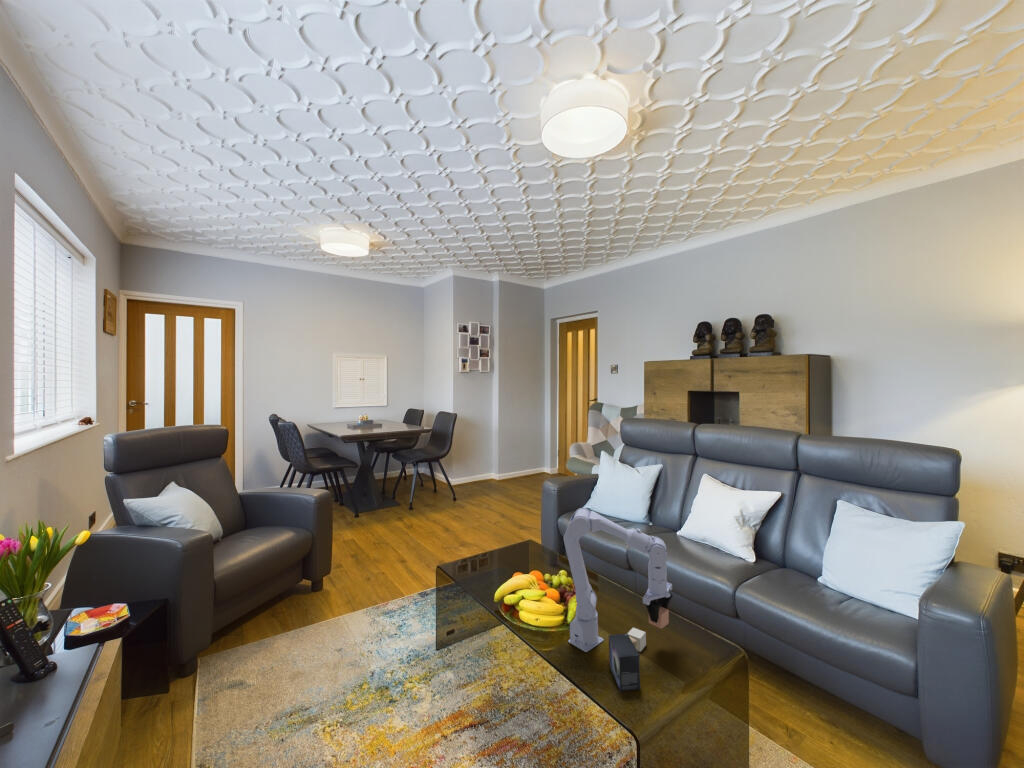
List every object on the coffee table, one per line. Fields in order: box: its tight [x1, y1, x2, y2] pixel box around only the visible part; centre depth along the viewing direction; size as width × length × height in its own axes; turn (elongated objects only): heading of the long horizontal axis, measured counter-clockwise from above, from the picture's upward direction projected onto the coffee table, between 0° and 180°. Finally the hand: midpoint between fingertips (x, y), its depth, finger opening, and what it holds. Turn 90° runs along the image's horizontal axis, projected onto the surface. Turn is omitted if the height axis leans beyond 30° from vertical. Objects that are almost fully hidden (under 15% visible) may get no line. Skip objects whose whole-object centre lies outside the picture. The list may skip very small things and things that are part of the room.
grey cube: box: [626, 627, 647, 653], centre depth 148 cm, size 4×4×4 cm
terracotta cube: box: [648, 606, 670, 630], centre depth 146 cm, size 4×4×4 cm
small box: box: [608, 633, 642, 692], centre depth 133 cm, size 11×6×10 cm, turn 5°
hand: (658, 618), depth 146 cm, fingers closed on terracotta cube, 4 cm apart
